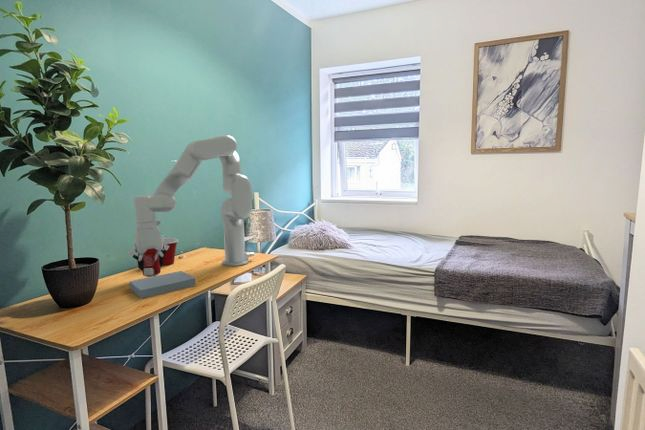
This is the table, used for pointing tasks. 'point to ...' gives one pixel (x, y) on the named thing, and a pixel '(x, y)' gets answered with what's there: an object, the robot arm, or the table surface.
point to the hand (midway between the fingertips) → (151, 267)
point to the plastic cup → (169, 250)
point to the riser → (162, 284)
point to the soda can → (151, 262)
